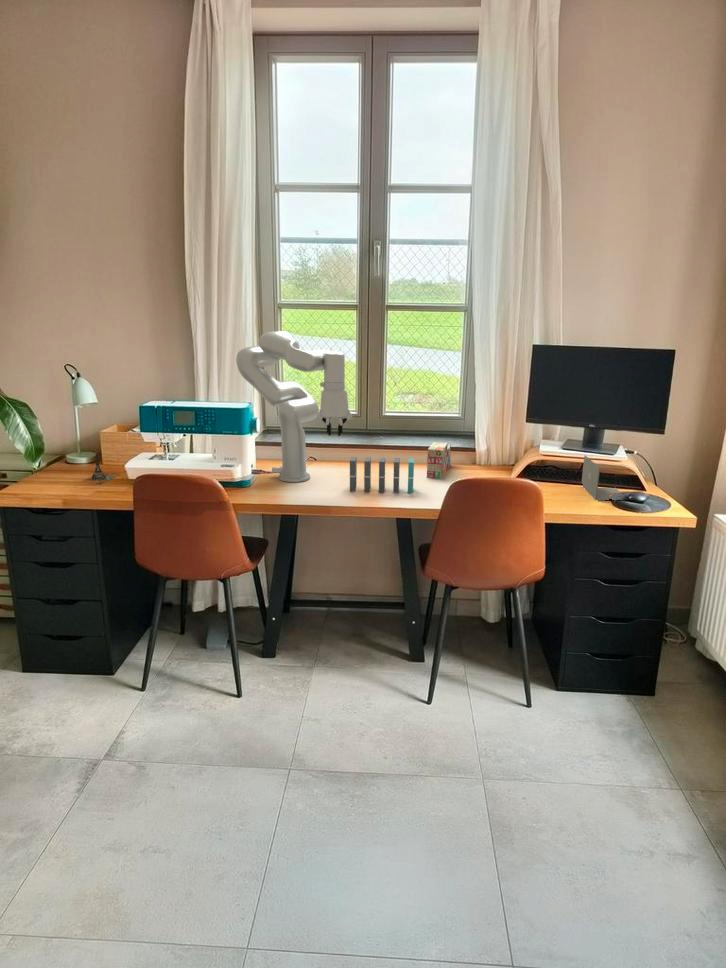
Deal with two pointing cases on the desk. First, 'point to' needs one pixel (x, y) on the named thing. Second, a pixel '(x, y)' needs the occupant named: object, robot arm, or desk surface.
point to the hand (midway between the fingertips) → (334, 434)
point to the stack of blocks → (438, 459)
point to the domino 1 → (353, 473)
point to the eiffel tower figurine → (100, 473)
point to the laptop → (594, 481)
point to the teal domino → (410, 475)
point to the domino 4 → (396, 475)
